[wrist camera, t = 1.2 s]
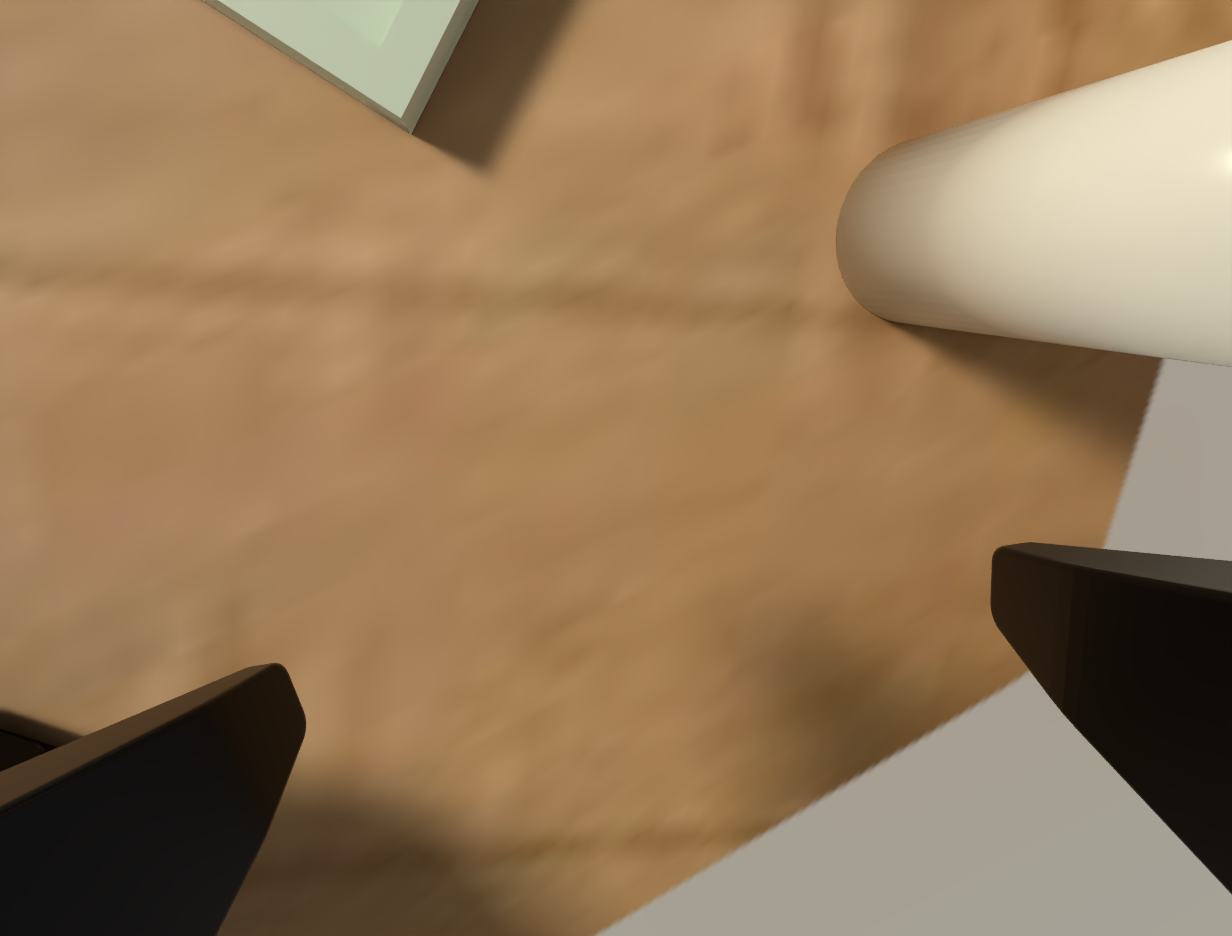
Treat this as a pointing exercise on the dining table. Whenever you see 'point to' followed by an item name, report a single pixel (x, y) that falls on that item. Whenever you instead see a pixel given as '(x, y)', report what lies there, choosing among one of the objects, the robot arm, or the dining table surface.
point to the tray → (363, 44)
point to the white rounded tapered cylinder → (1062, 218)
